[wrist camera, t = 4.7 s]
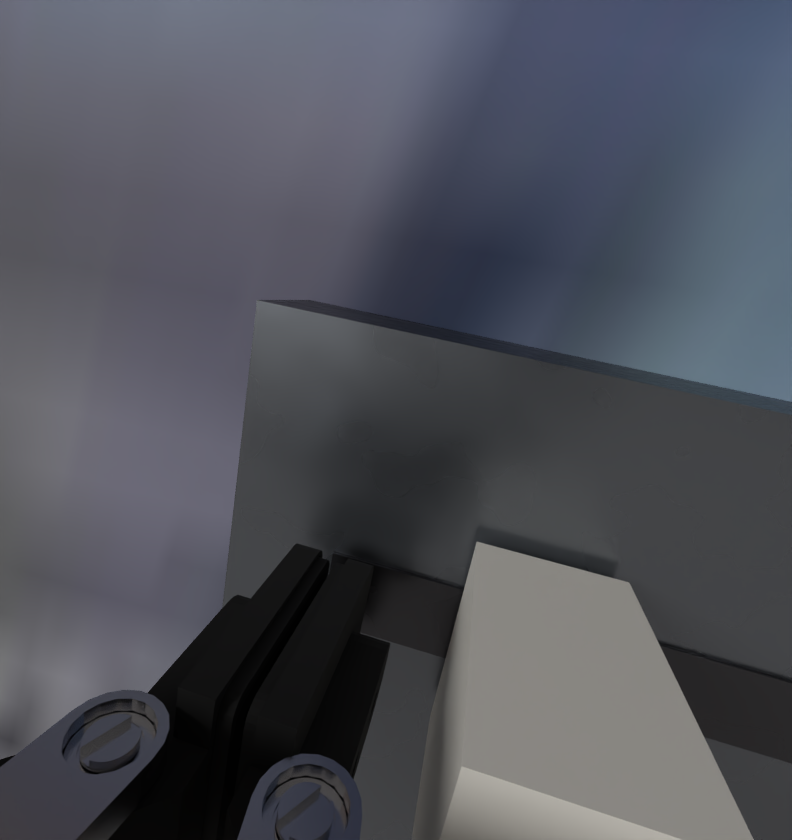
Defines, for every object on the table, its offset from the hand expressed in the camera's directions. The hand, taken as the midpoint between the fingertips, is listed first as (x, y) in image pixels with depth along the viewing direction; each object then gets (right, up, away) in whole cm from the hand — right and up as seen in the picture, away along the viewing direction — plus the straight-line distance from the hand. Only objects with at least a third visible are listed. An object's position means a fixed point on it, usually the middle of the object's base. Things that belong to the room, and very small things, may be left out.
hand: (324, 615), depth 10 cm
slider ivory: (+4, -1, +1) cm, 4 cm away
